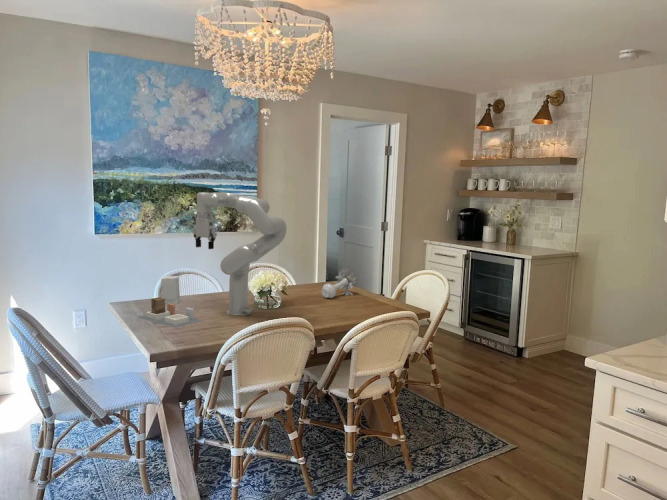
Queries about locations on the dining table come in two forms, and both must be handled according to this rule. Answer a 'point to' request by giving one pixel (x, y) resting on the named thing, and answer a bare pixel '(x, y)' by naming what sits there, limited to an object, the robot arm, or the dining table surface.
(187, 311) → the pale grey tag
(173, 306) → the terracotta tag
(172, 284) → the skincare box
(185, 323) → the tag board
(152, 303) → the walnut plug
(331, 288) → the flower vase
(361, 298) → the dining table surface
